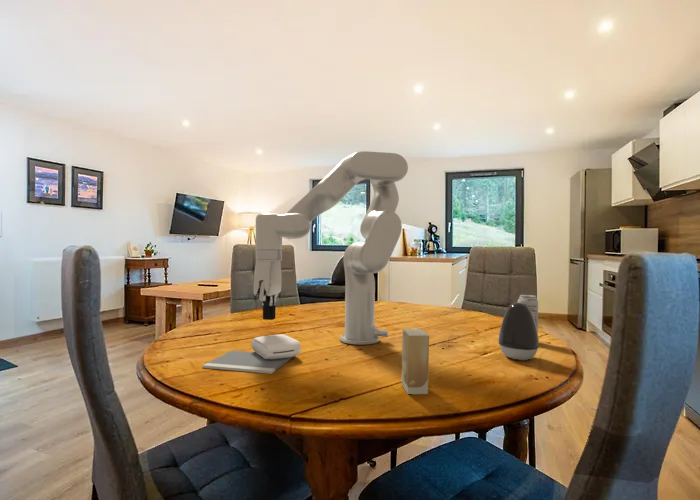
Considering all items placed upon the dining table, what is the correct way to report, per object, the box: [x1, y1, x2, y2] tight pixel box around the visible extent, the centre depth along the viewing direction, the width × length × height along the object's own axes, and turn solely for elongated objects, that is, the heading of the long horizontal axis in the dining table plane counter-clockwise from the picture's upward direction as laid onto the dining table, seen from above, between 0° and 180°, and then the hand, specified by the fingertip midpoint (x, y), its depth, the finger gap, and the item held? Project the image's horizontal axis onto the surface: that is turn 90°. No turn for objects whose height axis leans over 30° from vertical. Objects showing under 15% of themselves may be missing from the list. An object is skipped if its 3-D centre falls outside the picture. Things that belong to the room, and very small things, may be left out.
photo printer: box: [251, 334, 302, 360], centre depth 102 cm, size 10×4×12 cm
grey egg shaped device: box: [497, 302, 540, 361], centre depth 104 cm, size 10×10×15 cm
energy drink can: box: [517, 294, 539, 334], centre depth 122 cm, size 6×6×15 cm
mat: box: [202, 350, 293, 375], centre depth 97 cm, size 18×14×1 cm
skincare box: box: [401, 328, 430, 395], centre depth 80 cm, size 6×4×12 cm
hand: (269, 319), depth 110 cm, fingers closed
